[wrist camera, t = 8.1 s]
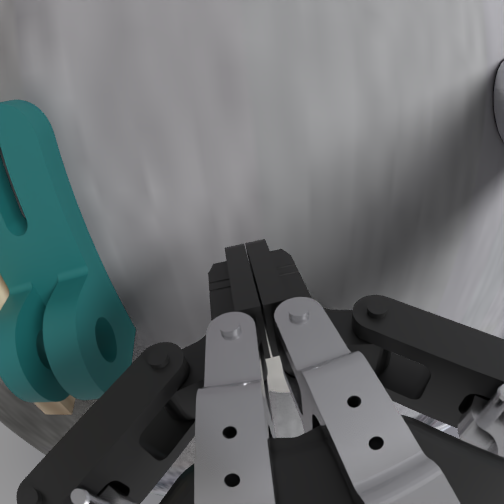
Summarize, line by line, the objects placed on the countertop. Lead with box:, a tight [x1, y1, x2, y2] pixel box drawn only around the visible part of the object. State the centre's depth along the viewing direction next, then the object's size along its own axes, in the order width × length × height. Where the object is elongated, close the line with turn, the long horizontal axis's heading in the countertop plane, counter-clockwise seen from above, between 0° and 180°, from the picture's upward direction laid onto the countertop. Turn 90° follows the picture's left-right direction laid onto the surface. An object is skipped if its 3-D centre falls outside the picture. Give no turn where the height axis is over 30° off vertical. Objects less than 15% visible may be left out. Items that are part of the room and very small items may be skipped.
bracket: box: [0, 100, 136, 403], centre depth 13 cm, size 18×7×8 cm, turn 10°
